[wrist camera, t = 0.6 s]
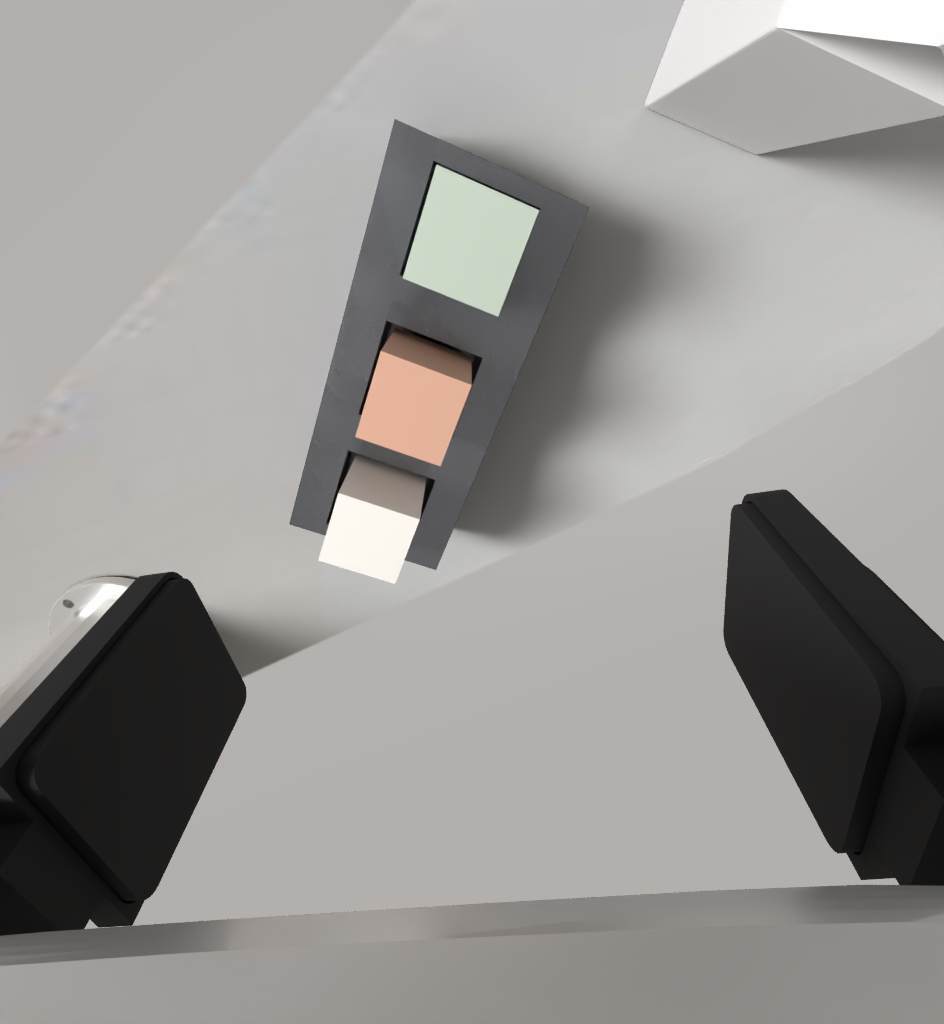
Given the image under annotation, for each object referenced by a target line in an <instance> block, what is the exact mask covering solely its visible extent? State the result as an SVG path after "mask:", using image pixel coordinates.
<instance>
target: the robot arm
mask: <svg viewBox="0 0 944 1024" xmlns="http://www.w3.org/2000/svg"><path fill="white" fill-rule="evenodd" d="M48 630H49V634H50V637H49V638H48V639H47V640H46V641H45V642H44V643H43V644H42V645H41V646H40V647H39V648H38V649H37V650H36V651H35V652H34V653H33V654H32V655H31V656H30V657H29V658H28V659H27V660H26V661H25V662H24V663H23V664H22V665H21V666H20V667H19V668H18V669H17V670H16V671H15V672H14V673H13V674H12V675H11V676H10V677H9V678H8V679H7V680H6V681H5V682H4V683H3V684H2V685H1V686H0V1024H944V641H943V640H942V639H941V638H940V637H939V636H938V635H937V634H936V633H935V632H934V631H933V630H932V629H931V628H930V627H929V626H928V625H927V624H926V623H925V622H924V621H923V620H922V619H921V618H920V617H919V616H918V615H917V614H916V613H915V612H914V611H912V609H910V608H909V606H908V605H907V604H906V603H904V601H902V600H901V599H900V598H899V597H898V596H897V595H896V594H895V593H894V592H893V591H892V590H891V589H890V588H889V587H888V586H887V585H886V584H885V583H884V582H883V581H882V580H881V579H880V578H879V577H878V576H877V575H876V574H875V573H874V572H873V571H871V570H870V569H869V568H867V567H866V566H864V565H863V564H862V563H861V562H860V561H859V560H858V559H857V558H856V557H855V556H854V555H853V554H852V553H851V552H850V551H849V550H848V549H847V548H846V547H845V546H844V545H843V544H842V543H841V542H840V541H839V540H838V539H837V538H835V536H834V535H832V533H830V532H829V530H827V528H826V527H825V526H824V525H822V524H821V523H820V522H819V521H818V520H817V519H816V518H815V517H814V516H813V515H812V514H811V513H810V512H809V511H808V510H807V509H806V508H805V507H804V506H803V505H802V504H801V503H800V502H799V501H798V500H797V499H796V498H795V497H794V496H793V495H792V494H791V493H790V492H788V491H787V490H775V491H768V492H760V493H753V494H747V495H746V496H744V499H743V501H742V504H738V505H734V506H733V508H732V512H731V523H730V538H729V553H728V568H727V584H726V599H725V615H724V641H725V645H726V648H727V651H728V653H729V655H730V657H731V659H732V661H733V663H734V665H735V667H736V669H737V671H738V672H739V675H740V676H741V678H742V680H743V682H744V684H745V686H746V688H747V690H748V692H749V694H750V696H751V697H752V699H753V701H754V703H755V705H756V707H757V709H758V711H759V713H760V715H761V716H762V718H763V720H764V722H765V724H766V726H767V728H768V730H769V732H770V734H771V736H772V737H773V739H774V741H775V743H776V745H777V747H778V749H779V751H780V753H781V754H782V757H783V758H784V760H785V762H786V764H787V766H788V768H789V770H790V772H791V774H792V776H793V777H794V779H795V781H796V783H797V785H798V787H799V789H800V791H801V793H802V794H803V797H804V798H805V800H806V802H807V804H808V806H809V808H810V810H811V812H812V814H813V815H814V818H815V819H816V821H817V823H818V825H819V827H820V829H821V831H822V832H823V835H824V837H825V838H826V840H827V842H828V843H829V845H830V846H831V848H832V849H833V850H834V851H835V852H837V853H847V855H848V857H849V859H850V860H851V862H852V864H853V866H854V867H855V870H856V871H857V873H858V875H859V877H860V879H861V880H867V879H883V878H896V880H897V881H898V883H899V885H847V886H821V887H797V888H796V887H795V888H770V889H745V890H718V891H698V892H697V891H696V892H679V893H662V894H646V895H645V894H643V895H626V896H608V897H591V898H573V899H556V900H537V901H520V902H502V903H485V904H468V905H453V906H435V907H419V908H403V909H389V910H388V909H387V910H370V911H354V912H338V913H322V914H307V915H291V916H276V917H259V918H243V919H227V920H215V921H214V920H213V921H198V922H184V923H169V924H154V925H140V926H131V925H133V923H134V921H135V919H136V917H137V915H138V912H139V911H140V909H141V907H142V904H143V902H144V900H146V899H147V898H149V897H150V896H151V895H152V894H153V893H154V892H155V890H156V888H157V887H158V885H159V883H160V881H161V878H162V876H163V874H164V872H165V870H166V868H167V866H168V864H169V862H170V860H171V857H172V855H173V853H174V851H175V849H176V847H177V845H178V843H179V841H180V839H181V837H182V834H183V832H184V830H185V828H186V826H187V824H188V822H189V820H190V818H191V815H192V813H193V811H194V809H195V807H196V805H197V803H198V801H199V799H200V797H201V795H202V792H203V790H204V788H205V786H206V784H207V782H208V780H209V778H210V775H211V774H212V772H213V769H214V767H215V765H216V763H217V761H218V759H219V757H220V754H221V753H222V751H223V748H224V746H225V744H226V742H227V740H228V738H229V736H230V734H231V732H232V730H233V728H234V725H235V723H236V721H237V719H238V717H239V715H240V713H241V710H242V708H243V707H244V704H245V701H246V687H245V684H244V682H243V680H242V678H241V676H240V674H239V672H238V670H237V668H236V666H235V664H234V663H233V661H232V659H231V657H230V655H229V653H228V651H227V649H226V647H225V645H224V643H223V642H222V640H221V638H220V636H219V634H218V632H217V630H216V628H215V626H214V624H213V622H212V621H211V619H210V617H209V615H208V613H207V611H206V609H205V607H204V605H203V603H202V601H201V600H200V598H199V596H198V594H197V592H196V590H195V588H194V586H193V585H192V583H191V582H190V581H189V580H188V579H184V578H182V576H181V575H179V574H178V573H175V572H167V573H159V574H152V575H145V576H140V577H139V578H137V579H136V580H135V579H129V578H123V577H99V578H92V579H88V580H85V581H83V582H80V583H78V584H76V585H74V586H73V587H71V588H69V589H68V590H67V591H66V592H65V593H64V594H63V595H62V596H60V597H59V598H58V600H57V601H56V602H55V604H54V605H53V607H52V608H51V611H50V614H49V617H48ZM89 919H91V921H92V922H94V924H95V925H97V926H98V927H110V928H96V929H84V928H85V926H86V925H87V923H88V921H89ZM115 926H125V927H115Z"/></svg>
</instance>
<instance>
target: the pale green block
mask: <svg viewBox="0 0 944 1024" xmlns="http://www.w3.org/2000/svg"><path fill="white" fill-rule="evenodd" d="M538 212H539V210H537V209H535V208H533V207H531V206H529V205H526V204H524V203H522V202H520V201H517V200H515V199H513V198H511V197H508V196H506V195H504V194H502V193H499V192H497V191H495V190H493V189H490V188H488V187H486V186H484V185H481V184H479V183H477V182H475V181H472V180H470V179H468V178H466V177H463V176H461V175H459V174H457V173H454V172H452V171H450V170H448V169H445V168H443V167H441V166H439V165H436V168H435V171H434V175H433V178H432V181H431V185H430V188H429V191H428V195H427V198H426V201H425V205H424V208H423V211H422V215H421V218H420V221H419V225H418V228H417V232H416V235H415V238H414V242H413V245H412V248H411V252H410V255H409V258H408V262H407V265H406V268H405V272H404V275H403V279H406V280H408V281H411V282H413V283H416V284H418V285H421V286H423V287H426V288H428V289H431V290H433V291H436V292H438V293H441V294H443V295H446V296H448V297H450V298H453V299H455V300H458V301H460V302H463V303H465V304H468V305H470V306H473V307H475V308H478V309H480V310H483V311H485V312H488V313H490V314H493V315H495V316H499V313H500V311H501V308H502V306H503V303H504V300H505V298H506V295H507V293H508V290H509V288H510V285H511V282H512V280H513V277H514V275H515V272H516V269H517V267H518V264H519V262H520V259H521V256H522V254H523V251H524V249H525V246H526V243H527V241H528V238H529V236H530V233H531V230H532V228H533V225H534V223H535V220H536V218H537V215H538Z"/></svg>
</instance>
